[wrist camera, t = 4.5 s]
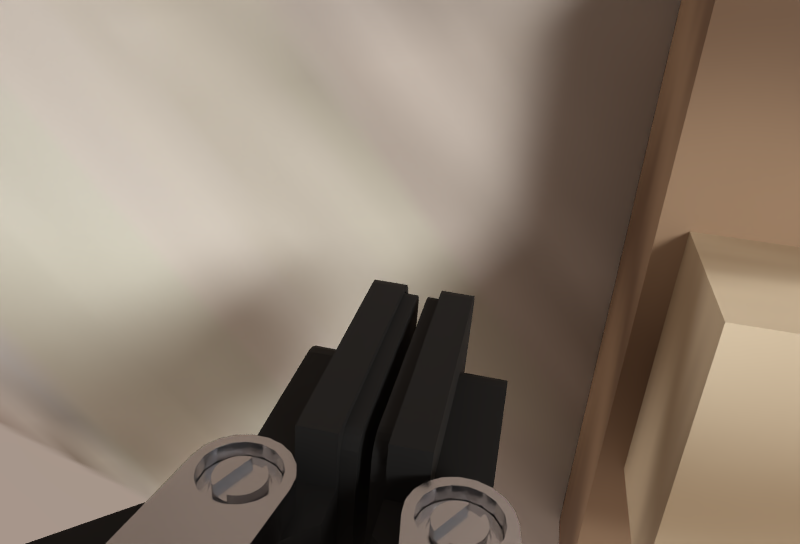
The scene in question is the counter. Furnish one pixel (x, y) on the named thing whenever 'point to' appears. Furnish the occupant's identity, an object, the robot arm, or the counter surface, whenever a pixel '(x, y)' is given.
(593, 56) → the counter surface
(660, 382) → the tile
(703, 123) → the board
